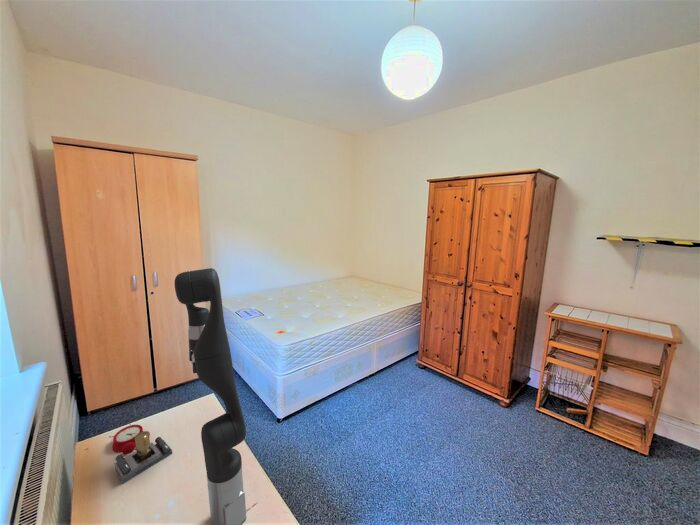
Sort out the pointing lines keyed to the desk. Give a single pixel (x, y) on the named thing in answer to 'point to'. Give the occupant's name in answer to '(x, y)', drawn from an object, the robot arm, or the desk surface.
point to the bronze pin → (143, 446)
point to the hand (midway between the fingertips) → (201, 375)
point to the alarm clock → (126, 439)
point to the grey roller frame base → (130, 468)
